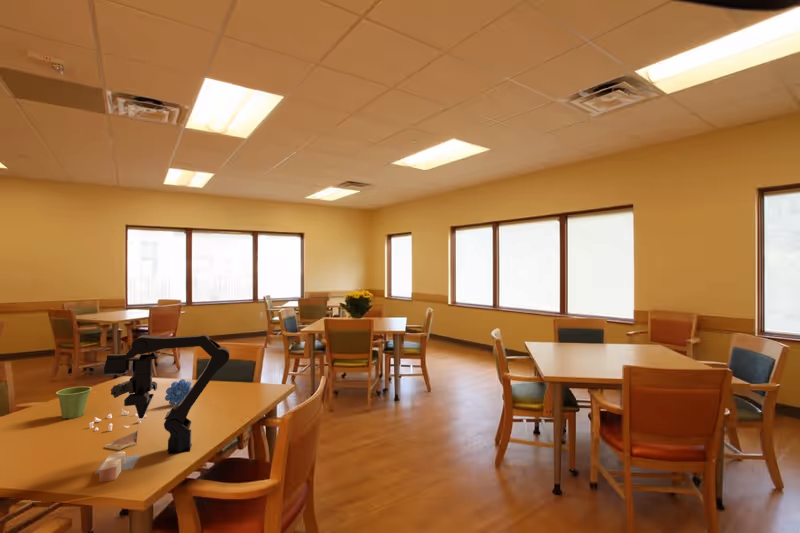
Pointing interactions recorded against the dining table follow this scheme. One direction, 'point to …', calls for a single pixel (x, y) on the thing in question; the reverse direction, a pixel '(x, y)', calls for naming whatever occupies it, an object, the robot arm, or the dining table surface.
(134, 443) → the shard
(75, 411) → the plant pot
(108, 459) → the block
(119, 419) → the dining table surface
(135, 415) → the game piece set
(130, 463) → the mat
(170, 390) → the grapes
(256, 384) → the dining table surface
